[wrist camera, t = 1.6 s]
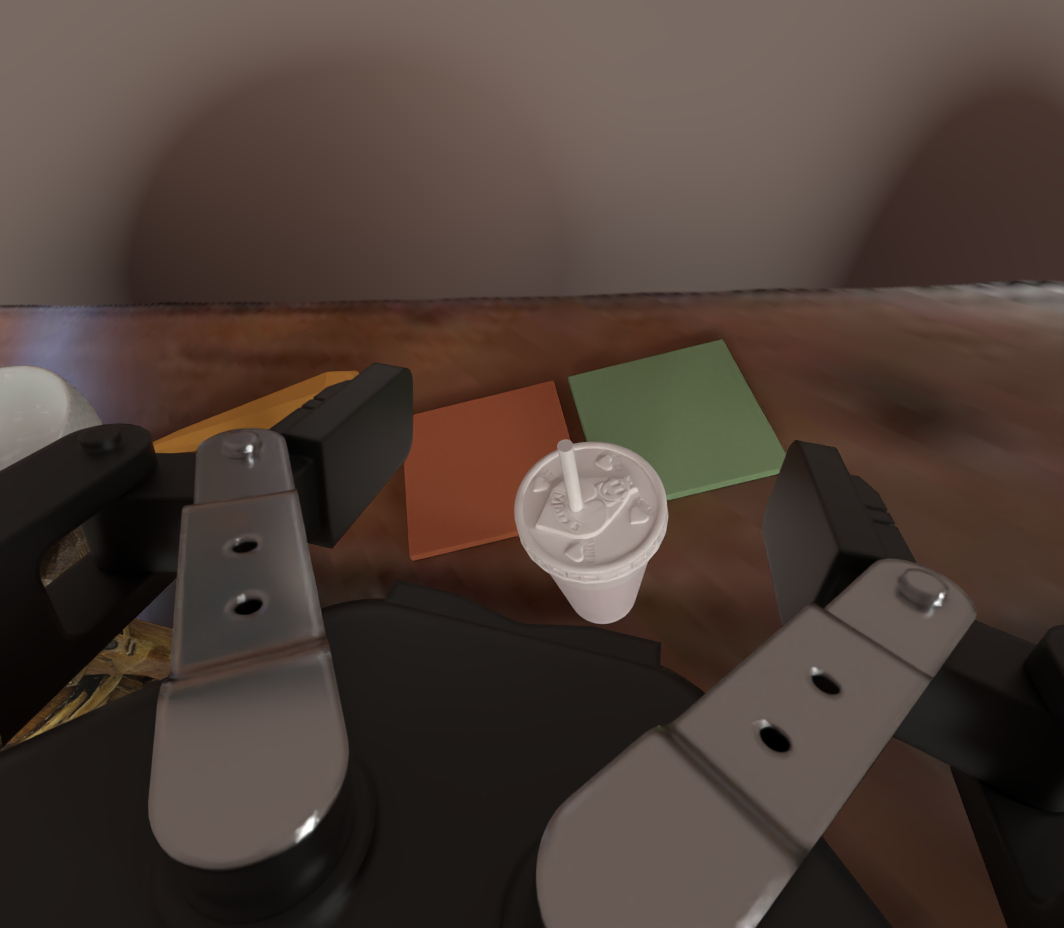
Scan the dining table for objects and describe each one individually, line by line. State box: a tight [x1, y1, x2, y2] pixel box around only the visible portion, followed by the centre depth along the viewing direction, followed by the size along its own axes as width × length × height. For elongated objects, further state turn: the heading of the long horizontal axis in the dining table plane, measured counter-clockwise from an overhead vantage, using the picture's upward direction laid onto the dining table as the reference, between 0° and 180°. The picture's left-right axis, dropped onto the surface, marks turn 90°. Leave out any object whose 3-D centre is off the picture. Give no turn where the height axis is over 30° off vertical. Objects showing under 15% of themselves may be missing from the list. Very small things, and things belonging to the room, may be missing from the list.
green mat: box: [568, 339, 786, 500], centre depth 37 cm, size 11×11×1 cm
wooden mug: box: [1, 526, 173, 751], centre depth 24 cm, size 9×14×18 cm, turn 91°
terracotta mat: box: [404, 381, 570, 561], centre depth 37 cm, size 11×11×1 cm
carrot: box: [153, 371, 359, 453], centre depth 41 cm, size 20×4×4 cm, turn 95°
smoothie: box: [514, 440, 668, 624], centre depth 26 cm, size 6×6×14 cm
